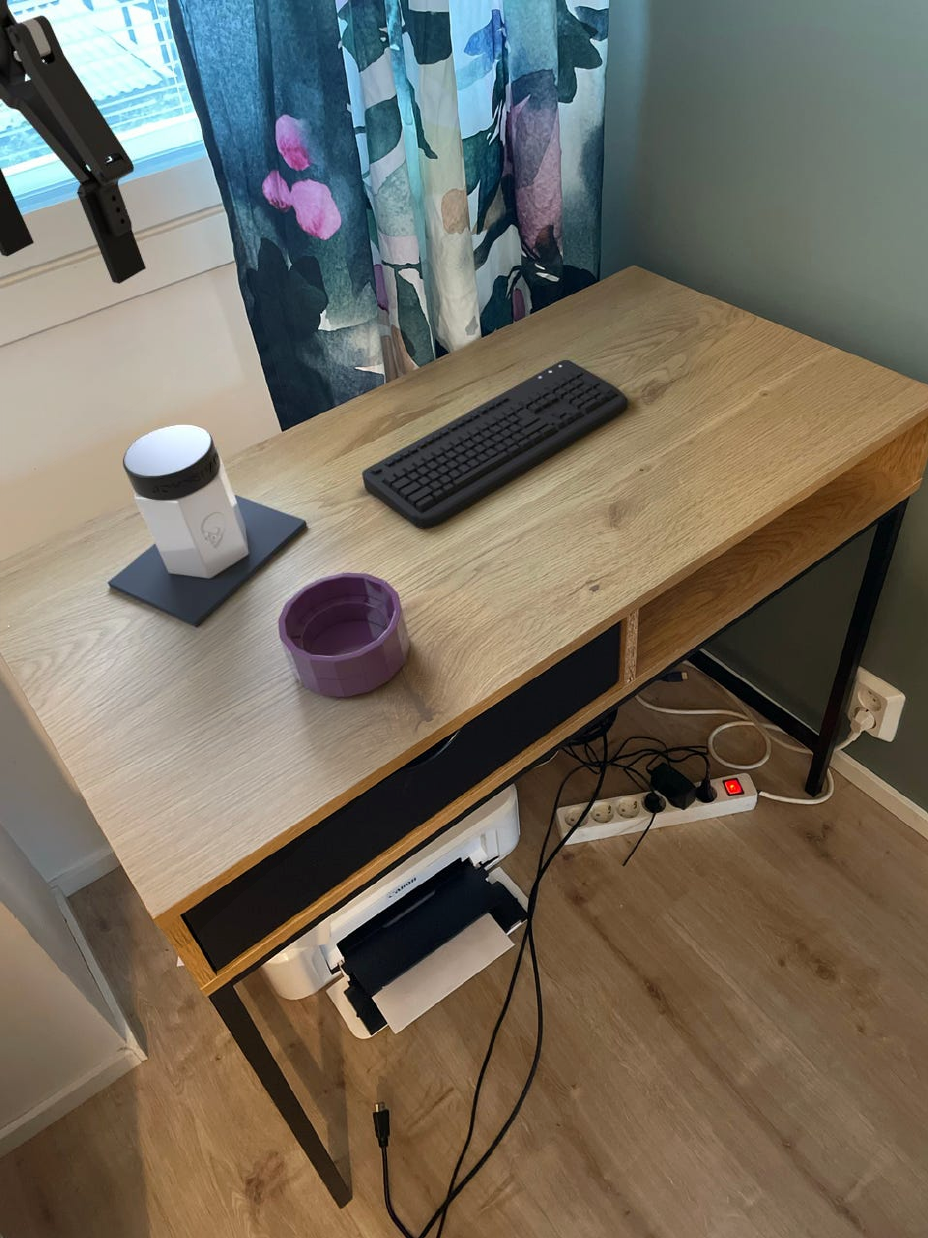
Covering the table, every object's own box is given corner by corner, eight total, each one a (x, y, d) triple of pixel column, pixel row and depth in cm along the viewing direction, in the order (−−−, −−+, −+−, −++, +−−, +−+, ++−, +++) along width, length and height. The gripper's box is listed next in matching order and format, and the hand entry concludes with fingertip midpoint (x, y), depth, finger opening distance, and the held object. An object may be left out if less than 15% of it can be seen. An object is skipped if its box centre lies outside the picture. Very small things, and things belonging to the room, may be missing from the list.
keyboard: (425, 533, 88) (422, 517, 86) (362, 486, 94) (358, 471, 93) (634, 405, 99) (635, 389, 98) (565, 371, 106) (565, 356, 104)
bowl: (362, 718, 72) (350, 678, 69) (268, 674, 77) (253, 634, 73) (432, 636, 78) (424, 595, 74) (341, 599, 82) (330, 558, 79)
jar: (192, 593, 84) (146, 492, 76) (148, 556, 89) (101, 456, 80) (269, 544, 88) (234, 442, 80) (223, 511, 93) (186, 411, 84)
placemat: (196, 627, 82) (194, 623, 81) (109, 586, 87) (106, 582, 87) (307, 525, 91) (306, 520, 90) (222, 493, 96) (220, 489, 95)
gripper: (107, -91, 52) (217, 265, 67) (-128, -84, 63) (12, 221, 78) (2, -62, 48) (144, 310, 63) (-230, -59, 59) (-62, 257, 74)
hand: (71, 261), depth 71 cm, fingers open, 13 cm apart
